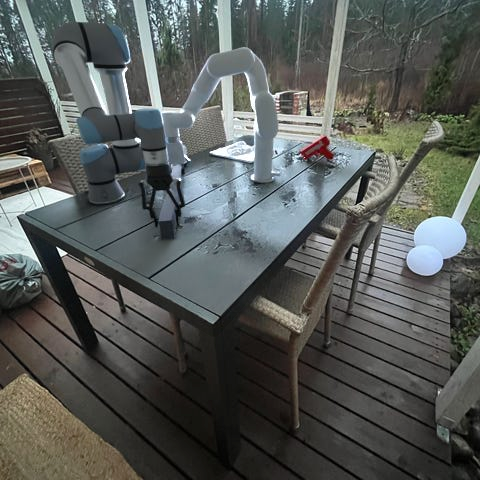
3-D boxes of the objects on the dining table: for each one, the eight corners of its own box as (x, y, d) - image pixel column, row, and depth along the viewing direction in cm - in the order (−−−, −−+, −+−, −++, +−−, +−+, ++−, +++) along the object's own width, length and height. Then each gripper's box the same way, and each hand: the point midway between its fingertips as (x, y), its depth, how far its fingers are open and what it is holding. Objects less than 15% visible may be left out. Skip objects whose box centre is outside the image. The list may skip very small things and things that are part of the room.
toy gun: (337, 154, 172) (326, 134, 168) (337, 156, 169) (325, 135, 165) (312, 169, 182) (300, 150, 178) (311, 171, 179) (299, 152, 175)
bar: (175, 179, 147) (173, 166, 143) (183, 179, 148) (181, 165, 144) (161, 239, 96) (158, 221, 92) (174, 238, 97) (171, 220, 93)
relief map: (251, 162, 170) (251, 154, 168) (209, 154, 188) (209, 146, 185) (273, 153, 189) (273, 145, 186) (233, 146, 206) (233, 139, 204)
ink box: (184, 164, 169) (181, 144, 163) (188, 165, 166) (186, 146, 160) (172, 167, 164) (169, 147, 158) (176, 169, 161) (174, 148, 155)
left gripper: (121, 167, 82) (137, 232, 95) (187, 164, 84) (194, 228, 97) (127, 160, 89) (141, 221, 101) (188, 157, 91) (195, 218, 103)
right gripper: (153, 142, 127) (159, 179, 137) (189, 140, 129) (193, 177, 138) (155, 138, 133) (161, 174, 143) (190, 137, 135) (194, 172, 145)
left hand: (167, 224), depth 99 cm, fingers open, 7 cm apart
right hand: (177, 175), depth 141 cm, fingers open, 5 cm apart
